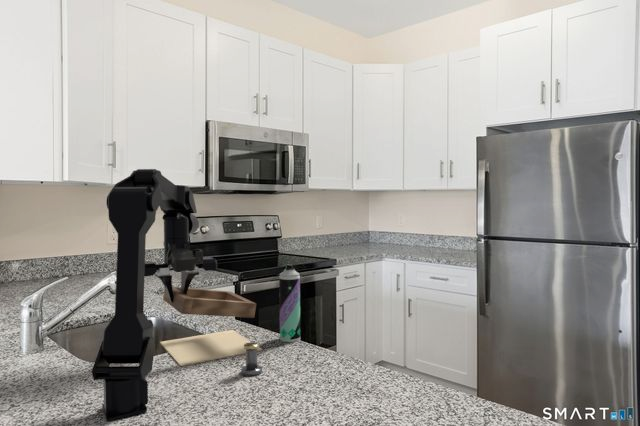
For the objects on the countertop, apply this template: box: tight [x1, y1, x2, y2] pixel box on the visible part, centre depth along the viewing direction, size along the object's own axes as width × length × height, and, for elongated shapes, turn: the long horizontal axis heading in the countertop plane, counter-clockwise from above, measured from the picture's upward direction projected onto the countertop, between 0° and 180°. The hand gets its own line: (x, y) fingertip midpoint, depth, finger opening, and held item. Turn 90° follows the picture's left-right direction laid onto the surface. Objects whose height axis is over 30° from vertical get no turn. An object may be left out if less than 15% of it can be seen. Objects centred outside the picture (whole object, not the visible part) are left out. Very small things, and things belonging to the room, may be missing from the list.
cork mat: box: [159, 329, 263, 367], centre depth 114 cm, size 20×20×1 cm
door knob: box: [240, 341, 263, 377], centre depth 96 cm, size 4×4×6 cm
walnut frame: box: [162, 286, 257, 319], centre depth 113 cm, size 18×18×4 cm
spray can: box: [278, 264, 301, 343], centre depth 119 cm, size 6×6×20 cm
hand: (177, 301), depth 109 cm, fingers closed on walnut frame, 2 cm apart
